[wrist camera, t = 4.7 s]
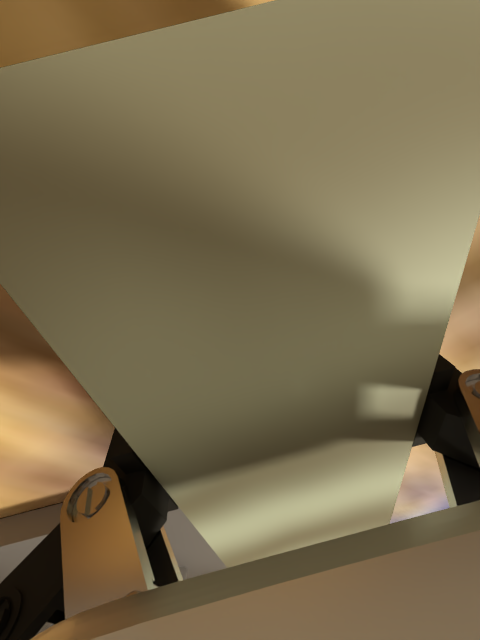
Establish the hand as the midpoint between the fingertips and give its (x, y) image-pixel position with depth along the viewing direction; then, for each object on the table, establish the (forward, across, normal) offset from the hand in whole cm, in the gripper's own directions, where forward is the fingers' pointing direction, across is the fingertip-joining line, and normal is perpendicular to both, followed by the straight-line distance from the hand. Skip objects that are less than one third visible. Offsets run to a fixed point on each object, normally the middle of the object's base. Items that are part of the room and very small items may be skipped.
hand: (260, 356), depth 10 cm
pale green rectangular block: (+1, 0, 0) cm, 1 cm away
